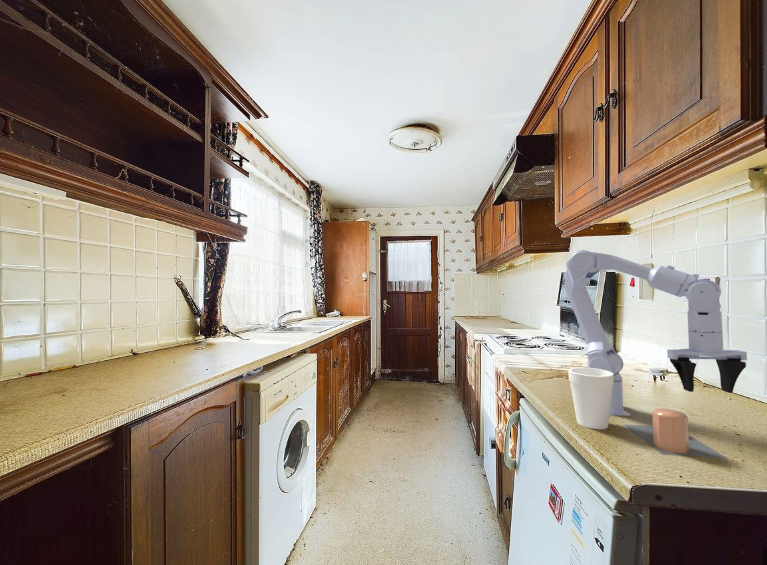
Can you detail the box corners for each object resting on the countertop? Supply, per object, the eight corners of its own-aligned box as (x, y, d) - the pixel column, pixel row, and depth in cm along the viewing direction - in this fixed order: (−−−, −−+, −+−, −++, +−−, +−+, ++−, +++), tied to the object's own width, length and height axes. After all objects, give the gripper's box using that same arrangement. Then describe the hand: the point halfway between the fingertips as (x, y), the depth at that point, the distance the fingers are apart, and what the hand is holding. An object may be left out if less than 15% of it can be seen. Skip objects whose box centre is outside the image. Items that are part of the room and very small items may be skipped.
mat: (623, 426, 81) (623, 424, 81) (675, 428, 79) (675, 426, 79) (662, 456, 67) (662, 454, 67) (727, 460, 65) (727, 458, 65)
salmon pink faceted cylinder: (649, 441, 72) (647, 408, 73) (676, 442, 72) (675, 409, 72) (665, 452, 67) (663, 417, 68) (694, 454, 66) (693, 418, 67)
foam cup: (564, 425, 82) (562, 372, 83) (576, 415, 89) (574, 365, 89) (610, 437, 76) (608, 378, 76) (620, 425, 82) (617, 371, 82)
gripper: (680, 333, 75) (683, 395, 74) (758, 333, 72) (761, 397, 72) (660, 329, 82) (663, 386, 81) (730, 329, 79) (733, 388, 79)
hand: (707, 391), depth 77 cm, fingers open, 7 cm apart
